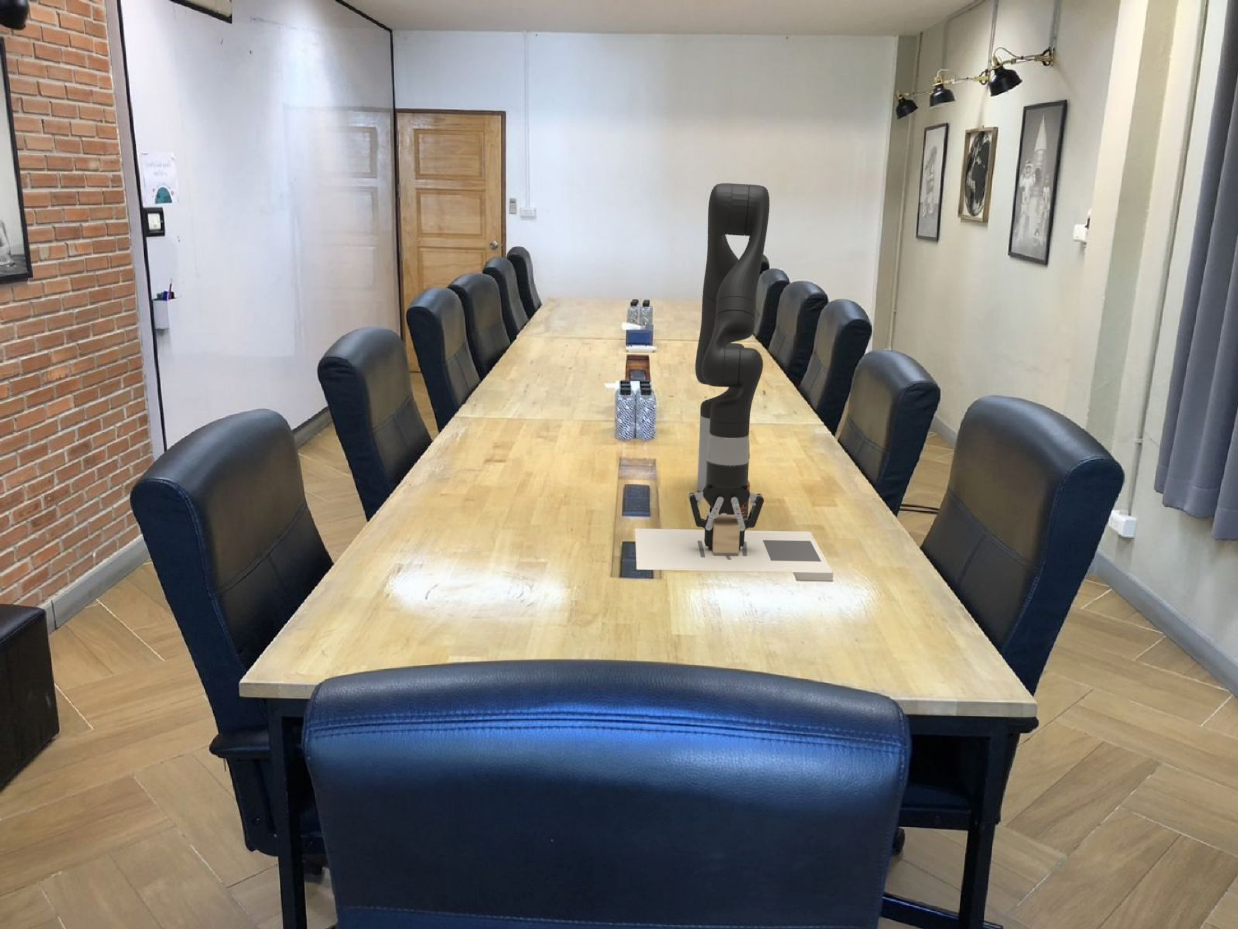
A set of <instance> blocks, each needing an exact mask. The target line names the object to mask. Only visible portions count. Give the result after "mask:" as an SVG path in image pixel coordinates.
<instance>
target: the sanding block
mask: <svg viewBox="0 0 1238 929" xmlns="http://www.w3.org/2000/svg"><path fill="white" fill-rule="evenodd" d="M712 529H713V543H712V552H713V556H738V554H739V535H740V526H739V523H737V521H736V518H735V515H719V514H718V516H717V518H716V520H715V522H714V523H713V527H712Z"/></svg>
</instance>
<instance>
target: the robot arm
mask: <svg viewBox="0 0 1238 929" xmlns="http://www.w3.org/2000/svg"><path fill="white" fill-rule="evenodd" d="M768 190H769V189H767V187H766V186H763V185H759V184H748V183H747V184H746V183H731V182H730V183H729V182H723V183H716V184H715V185H714V186H713V188H712V190H711V192H710V194H709V199H708V208H707V209H708V210H707V248H706V249H707V252H706V264H705V270H704V278H703V287H702V298H701V299H702V300H701V323H700V331H699V336H698V343H697V349H696V356H695V362H694V364H695V365H694V370H695V371H694V372H695V376H696V380H697V381H698V383H701V384H702V385H708V386H710V387H717V388H727V389H726V391H724V392H723V393H720V394H719V395H717V396H714V397H711V398H708V399H705V400H703V401H702V402H701V404H700V408H699V410H700V411H699V416H700V417H699V434H698V435H699V438H698V460H697V462H698V463H697V483H696V484H697V485H696V486H697V487H696V489H697V490H696V491H698V492H697V493H696V492H695V493H694V492H690V493H689V494H688V500H689V503H690V507H691V512H692V515H693V519H694V523H695V526H696V527H697V528H702V529H703V530H705V534H704V542H705V545H706V546H708V549H712V543H713V529H712V527H713V523H714V522H715V520H716V518H717V516H718V515H719V514H722V513H729V514H734V515H735V518H736V521H737V523H739V526H740V535H739V550H740V547H743V545H744V536H745V531H747V530H748V529H750V528H752V529H753V528H755V527H756V524H757V522H758V518H759V516H760V513H761V510H762V508H763V505H764V501H765V499H764V497H763V495H762V493H753V492H749V490H748V481H749V466H750V465H749V464H750V458H751V454H750V445H751V444H750V425H751V424H750V423H751V420H750V419H751V410H752V404H753V401H754V397H755V394H756V390H757V387H758V385H759V382H760V380H761V377H762V374H763V369H764V361H763V356H762V355H761V353H760V351H758V349H756V348H753V347H745V346H744V344H742V343H737V342H740V341H745V340H747V339H749V338H750V337H752V335H753V334H754V332H755V324H756V306H757V292H758V285H759V280H760V279H759V277H760V273H761V269H762V263H763V257H764V252H765V245H766V238H767V233H768V232H767V231H768V224H769V218H770V208H771V207H770V202H771V201H770V193H769V191H768ZM727 235H728V236H739V237H740V236H741V237H742V236H743V237H748V241H747V244H746V246H745V249H744V251H743V253H742V254H741V256H740V257H739V258H738V257H737V255H736V254H735V252H734V251H733V250H732V248H731V247H730V245H729V242H728V239H727ZM703 499H705V502H707V504H708V505H709V508H708V511H707V514H706V518H703V517H702V516H701V513H700V509H699V506H701V504H702V500H703ZM748 499H749V504H750V505H751V508H750V511H749V512H748V518H747V519H745V520H743V517H742V513H741V510H740V509H741V507H742V506H743V505H744V504H745V502H746V501H747V500H748Z"/></svg>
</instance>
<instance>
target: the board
mask: <svg viewBox="0 0 1238 929" xmlns="http://www.w3.org/2000/svg"><path fill="white" fill-rule="evenodd" d="M634 531H635V532H634V533H635V534H634V536H635V537H634V538H635V557H636V563H635V564H636V570H638V571H639V570H641V571H646V570H647V571H649V570H650V571H687V572H688V571H690V572H691V571H693V572H694V571H696V572H700V571H702V572H703V571H704V572H749V573H752V572H753V573H754V572H756V573H760V572H761V573H792V574H793V576H794V579H795V581H805V582H806V581H807V582H808V581H812V582H813V581H817V582H821V581H822V582H832V581H833V579H834V572H833V570H832V568H831V566H830V564H829V563H828V561H827V559H826V558H825V555H824V554H823V551H822V550H821V548H820V547H819V545H818V543H817V541H816V539H815V537H814V536H813V534H812V532H811V531H796V530H795V531H789V530H787V531H786V530H785V531H783V530H745V536H744V545H743V547H740V550H739V554H738V556H713V552H712V549H708V546H706V545H705V542H704V534H705V529H684V528H682V529H680V528H679V529H678V528H634Z"/></svg>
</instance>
